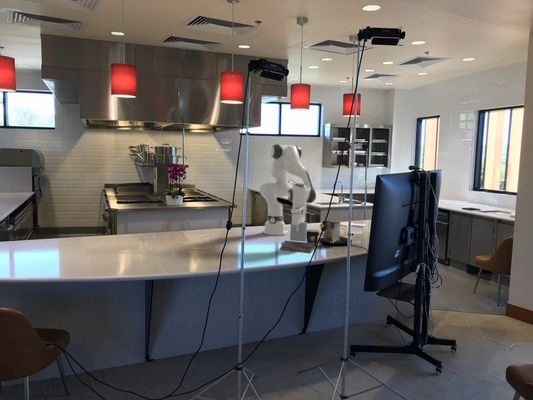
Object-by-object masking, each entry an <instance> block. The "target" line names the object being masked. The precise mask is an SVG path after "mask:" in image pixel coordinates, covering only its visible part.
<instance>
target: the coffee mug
mask: <svg viewBox="0 0 533 400" xmlns="http://www.w3.org/2000/svg"><path fill="white" fill-rule="evenodd" d="M321 233H322V236H323V237H321V238H319V236H320V235H321ZM323 239H324V232H319V230H318V229H307V238H306V243H315V246H316V244H317V245H318V242H319V241H321V240H323Z"/></svg>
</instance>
